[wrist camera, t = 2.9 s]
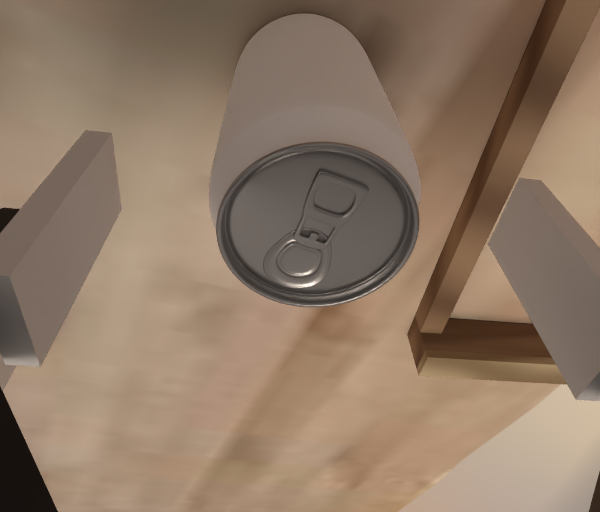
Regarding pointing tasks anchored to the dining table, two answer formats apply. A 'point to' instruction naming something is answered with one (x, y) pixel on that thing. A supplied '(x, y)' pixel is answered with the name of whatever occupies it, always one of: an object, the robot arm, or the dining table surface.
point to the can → (312, 169)
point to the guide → (484, 212)
